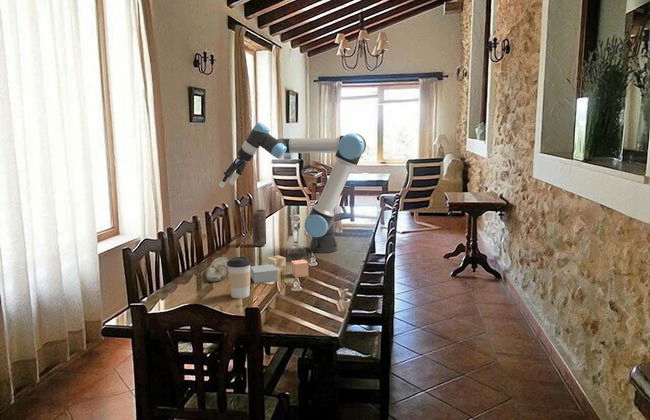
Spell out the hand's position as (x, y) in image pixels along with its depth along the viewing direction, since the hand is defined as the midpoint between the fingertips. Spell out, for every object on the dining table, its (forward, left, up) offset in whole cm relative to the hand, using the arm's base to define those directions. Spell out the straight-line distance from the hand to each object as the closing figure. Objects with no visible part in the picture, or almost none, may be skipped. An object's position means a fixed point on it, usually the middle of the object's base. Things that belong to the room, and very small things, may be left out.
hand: (225, 185), depth 250 cm
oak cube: (-16, +40, -36) cm, 56 cm away
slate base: (-8, +51, -36) cm, 63 cm away
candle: (-18, -11, -36) cm, 42 cm away
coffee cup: (+5, +69, -36) cm, 78 cm away
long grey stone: (+9, +32, -37) cm, 49 cm away
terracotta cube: (-24, +51, -36) cm, 67 cm away
